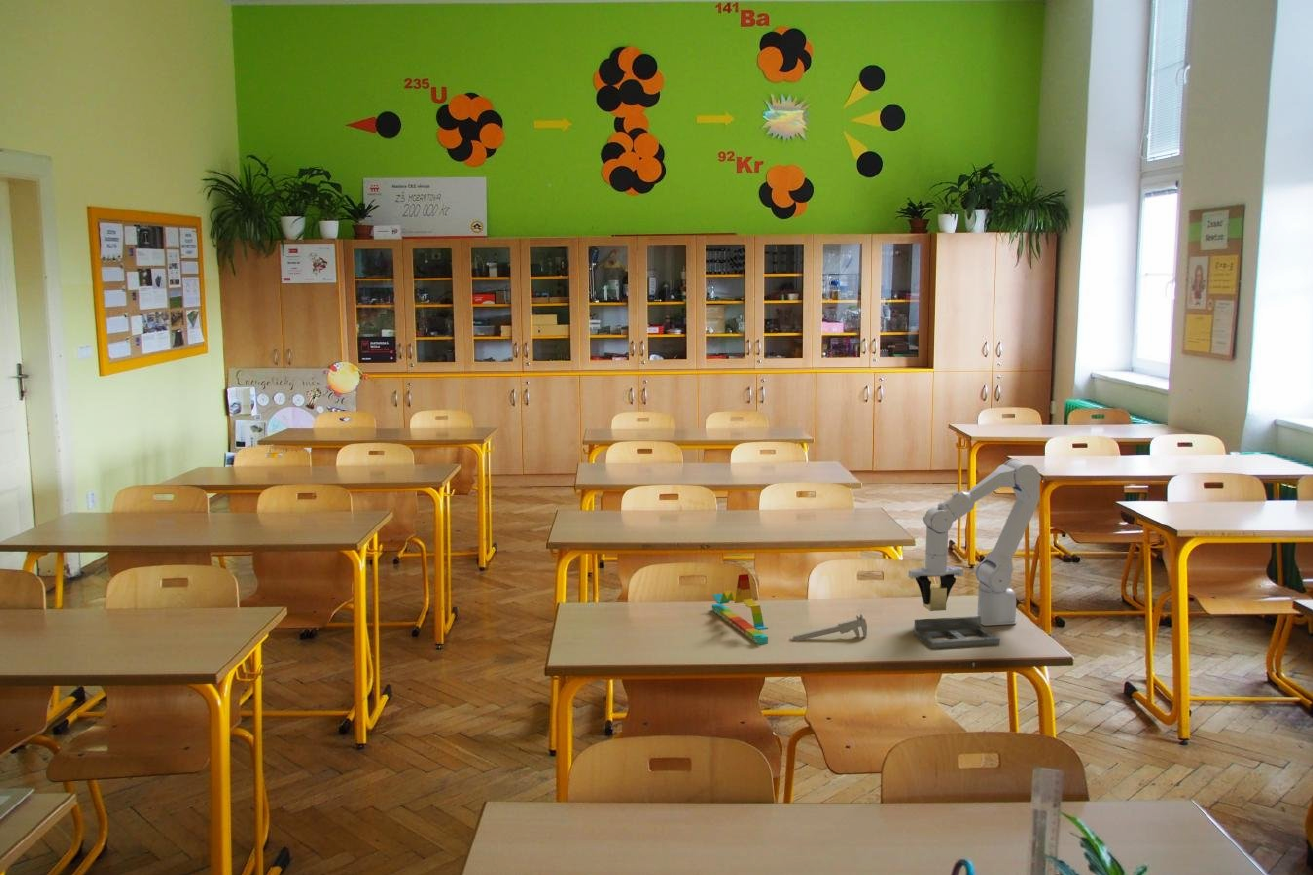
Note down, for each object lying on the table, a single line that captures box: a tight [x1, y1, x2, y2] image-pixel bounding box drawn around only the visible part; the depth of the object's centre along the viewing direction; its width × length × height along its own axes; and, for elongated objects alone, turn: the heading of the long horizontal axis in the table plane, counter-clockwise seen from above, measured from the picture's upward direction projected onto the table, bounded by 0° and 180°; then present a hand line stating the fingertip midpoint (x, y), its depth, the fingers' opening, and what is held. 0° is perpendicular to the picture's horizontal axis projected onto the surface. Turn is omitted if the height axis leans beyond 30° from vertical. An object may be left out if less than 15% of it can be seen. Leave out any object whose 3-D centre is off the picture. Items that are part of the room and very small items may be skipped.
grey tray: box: [913, 616, 1000, 650], centre depth 281 cm, size 18×11×4 cm, turn 100°
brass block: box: [922, 583, 948, 612], centre depth 293 cm, size 4×4×6 cm
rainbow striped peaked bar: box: [711, 573, 769, 645], centre depth 291 cm, size 30×3×15 cm, turn 20°
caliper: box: [788, 613, 868, 642], centre depth 281 cm, size 21×1×6 cm, turn 99°
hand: (934, 602), depth 293 cm, fingers closed on brass block, 4 cm apart
